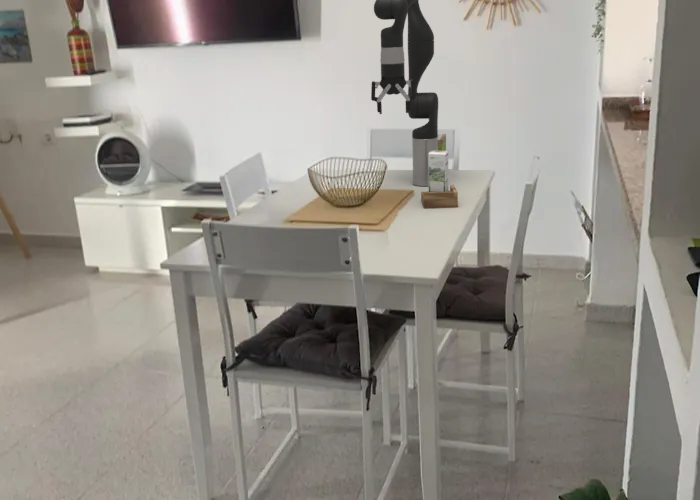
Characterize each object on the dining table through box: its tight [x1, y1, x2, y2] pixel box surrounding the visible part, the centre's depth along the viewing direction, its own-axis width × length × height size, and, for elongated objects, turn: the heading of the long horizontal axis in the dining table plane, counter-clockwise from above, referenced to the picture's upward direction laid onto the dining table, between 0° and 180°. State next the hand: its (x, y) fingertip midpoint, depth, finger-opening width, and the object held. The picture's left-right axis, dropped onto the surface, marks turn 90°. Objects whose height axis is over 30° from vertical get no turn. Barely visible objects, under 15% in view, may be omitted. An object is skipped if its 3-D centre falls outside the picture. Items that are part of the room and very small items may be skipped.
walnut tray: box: [420, 184, 459, 209], centre depth 247 cm, size 11×11×5 cm
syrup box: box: [428, 150, 449, 192], centre depth 244 cm, size 6×6×14 cm
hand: (393, 113), depth 242 cm, fingers open, 8 cm apart
